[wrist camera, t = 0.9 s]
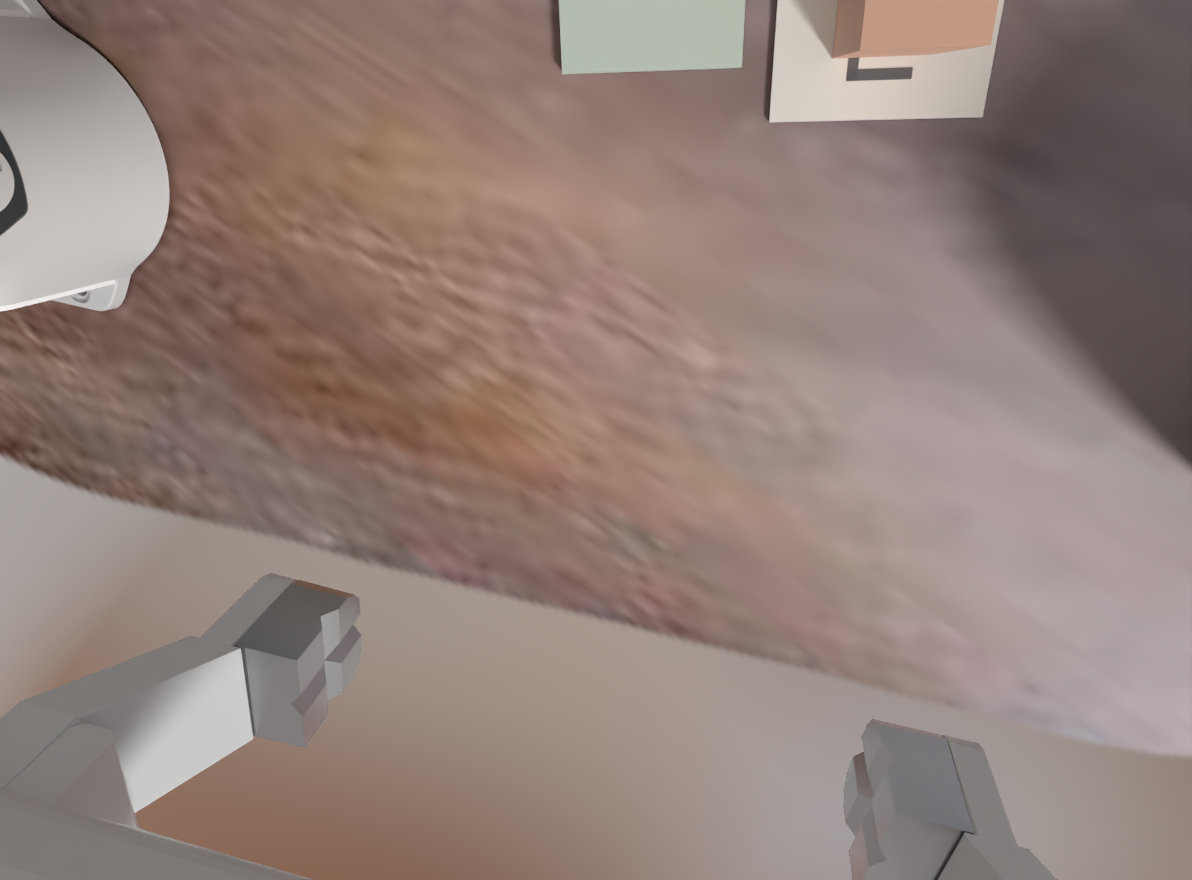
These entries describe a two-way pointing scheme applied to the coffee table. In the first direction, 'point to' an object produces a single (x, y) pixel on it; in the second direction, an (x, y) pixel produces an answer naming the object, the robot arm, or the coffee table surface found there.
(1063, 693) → the coffee table surface
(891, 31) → the block
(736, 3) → the coaster
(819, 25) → the tile
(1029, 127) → the coffee table surface
